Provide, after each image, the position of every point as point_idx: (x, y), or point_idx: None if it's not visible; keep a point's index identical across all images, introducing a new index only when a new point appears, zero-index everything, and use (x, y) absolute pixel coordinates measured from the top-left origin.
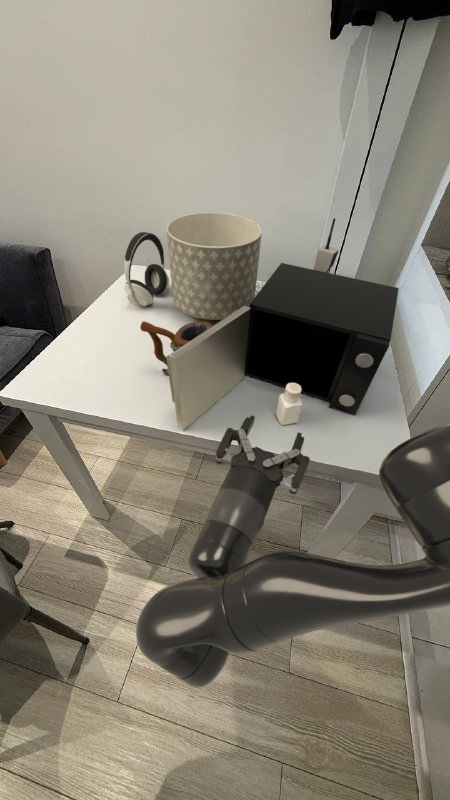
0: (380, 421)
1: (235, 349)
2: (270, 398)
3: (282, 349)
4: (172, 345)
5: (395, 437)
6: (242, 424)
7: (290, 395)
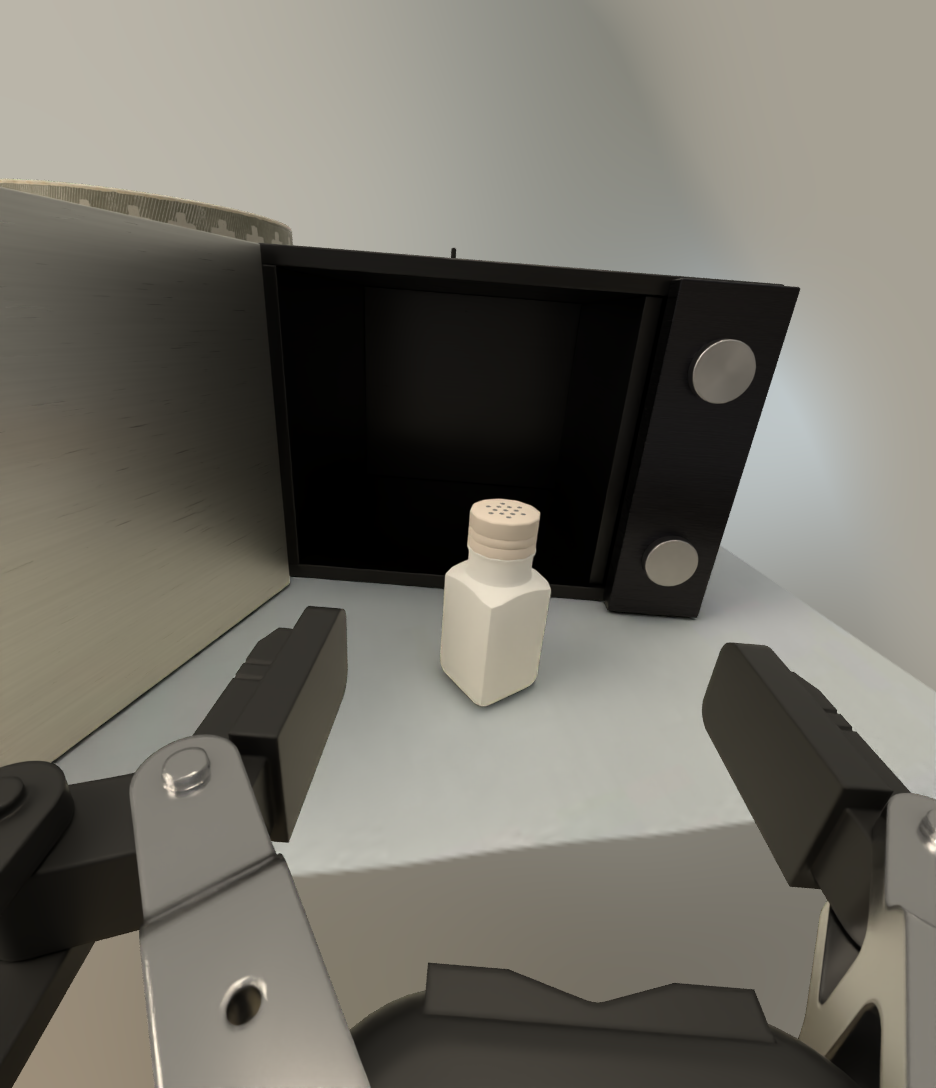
0: (771, 620)
1: (218, 418)
2: (403, 624)
3: (403, 503)
4: None
5: (854, 654)
6: (223, 695)
7: (502, 541)
